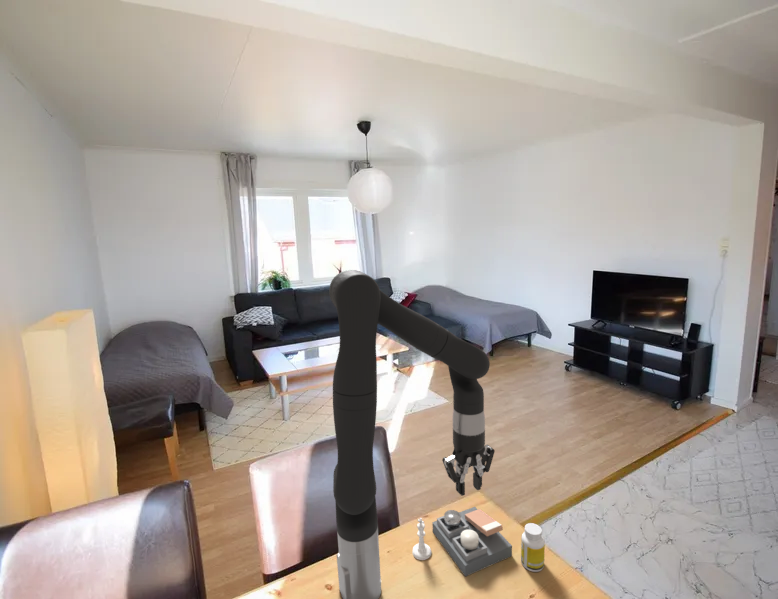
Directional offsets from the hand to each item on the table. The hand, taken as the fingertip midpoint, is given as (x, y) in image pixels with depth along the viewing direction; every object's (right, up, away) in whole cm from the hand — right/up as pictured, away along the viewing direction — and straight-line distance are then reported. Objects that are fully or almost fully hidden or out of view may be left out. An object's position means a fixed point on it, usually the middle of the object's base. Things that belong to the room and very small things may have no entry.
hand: (469, 490), depth 99 cm
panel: (+2, -18, +8) cm, 20 cm away
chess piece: (-11, -19, +6) cm, 23 cm away
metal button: (-3, -13, +10) cm, 17 cm away
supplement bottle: (+16, -19, +1) cm, 25 cm away
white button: (+1, -14, +3) cm, 15 cm away
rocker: (+5, -13, +9) cm, 16 cm away
